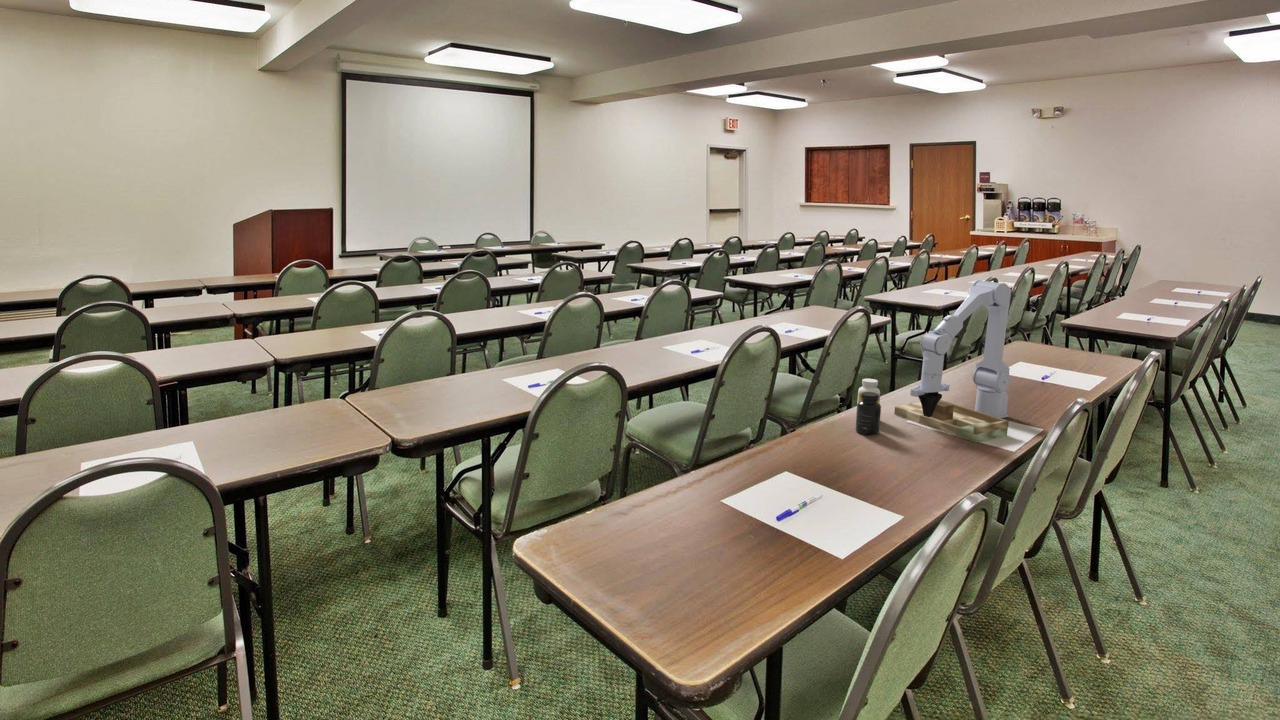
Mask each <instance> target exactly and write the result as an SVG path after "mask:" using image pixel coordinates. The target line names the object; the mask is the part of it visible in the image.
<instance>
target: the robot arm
mask: <svg viewBox="0 0 1280 720" xmlns="http://www.w3.org/2000/svg"><path fill="white" fill-rule="evenodd" d="M967 294H968V295H967V297H966V298H965V299H964V300H963V301H962V303H961V304H960V306H959V307H958V308H956V310H955V311H954V313H953V314H948V315H946V316H945V317H943V319H942V321H941V322H939V324H938V325H937V326H936V327H935V328H934V329H933V330H932V331H931V332H928V333H925V334H924V335H923V337H922V338H921V340H920V342H919V346H920V349H921V355H922V358H923V359H922V368H921V375H920V376H921V377H920V383H919V384H917V386H916V387H914V388H911V389H910V396H911V397H915V398H917V397H918V400H919V402H921V405H922V409H923V415H924V416H926V417H932V415H933V412H934V409H935V407H936V405H937V403H938V402H939V400H942V398H943V394H941V393H940V392H949V391H950V386H951V385H950V384H947V383H942V382H943V381H942V379H943V370H944V361H945V355H946V354H947V352H949V350H950V348H951V344H952V343H953V339H954V338H955V337H956V336H957V335H958V334H959V333H960V332H961V330H963V328H964V322H965V320H967V319H968V318H969V317H970V316H971V314H973V313H974V312H975V311H976V310H977V309H978V308H979V307H982V306H984V307H985V308H986V309H987V310H988V316H987V326H986V332H985V333H986V334H985V341H984V348H983V349H984V350H983V351H984V352H983V359H981V360H979V361H978V362H976V364H975V369H974V371H973V373H972V381H973V384H974V385H975V388H976V389H977V390H976V396H975V397H976V398H975V403H974V404H975V406H974V410H975V411H978V412H982V413H985V414H988V415H991V416H995V417H998V418H1001V419H1004V418H1008V417H1009V414H1007V411H1008V404H1009V403H1008V402H1009V395H1008V391H1006V390H1007V389H1008V387H1009V386H1010V383H1011V376H1010V367H1009V366H1008V365H1007V364H1006V363H1005V362H1004V360H1003V356H1004V349H1005V340H1006V331H1007V325H1008V318H1009V317H1008V316H1009V309H1010V303H1011V295H1012V289H1011V287H1010V286H1009V285H1008V284H1007V283H1005V282H996V281H995V282H994V281H987V280H982V279H977V280H975V281H974V282H973V283H972V285H970V287H969V288H968V293H967Z"/></svg>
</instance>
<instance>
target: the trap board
mask: <svg viewBox="0 0 1280 720" xmlns="http://www.w3.org/2000/svg"><path fill="white" fill-rule="evenodd" d="M939 401H944V402H947V403H950V404H953V405H954V411H953V419H949V420H945V421H941V420H938V419H935V418H932V417H926V416H924V415H923V409H922V405H921V402H920V401H919V402H915V403H914V402H913V403H909V404H903V405H898V406H894V413H893V414H894V415H896V416H898V417H902V418H904V419H906V418H907V420H909V419H910V421H912V420H913V421H912V422H915V421H916V422H915V423H918V424H922V425H923V424H924V426H926V425H927V426H926V427H929V428H931V429H932V428H933V429H935V430H938V431H940V430H941V432H943V431H944V433H946V434H949V433H950V435H952V436H955V437H958V438H960V437H961V438H960V439H964V440H967V441H969V440H970V442H973V443H975V444H977V443H979V442H980V441H981V442H984V440H985V441H988V440H993V439H997V438H996V437H998V438H1001V437H1000V436H1002V437H1005V436H1004V435H1006V436H1007V435H1008V429H1009V422H1010V421H1009V420H1007V419H1004V418H998V417H995V416H991V415H988V414H985V413H982V412H978V411H975V409H971V408H968V407H966V406H962V405H958V404H955V403H952V402H950V401H949V402H948V401H945V400H942V399H940V400H939ZM992 438H993V439H992ZM981 442H980V443H981Z"/></svg>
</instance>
